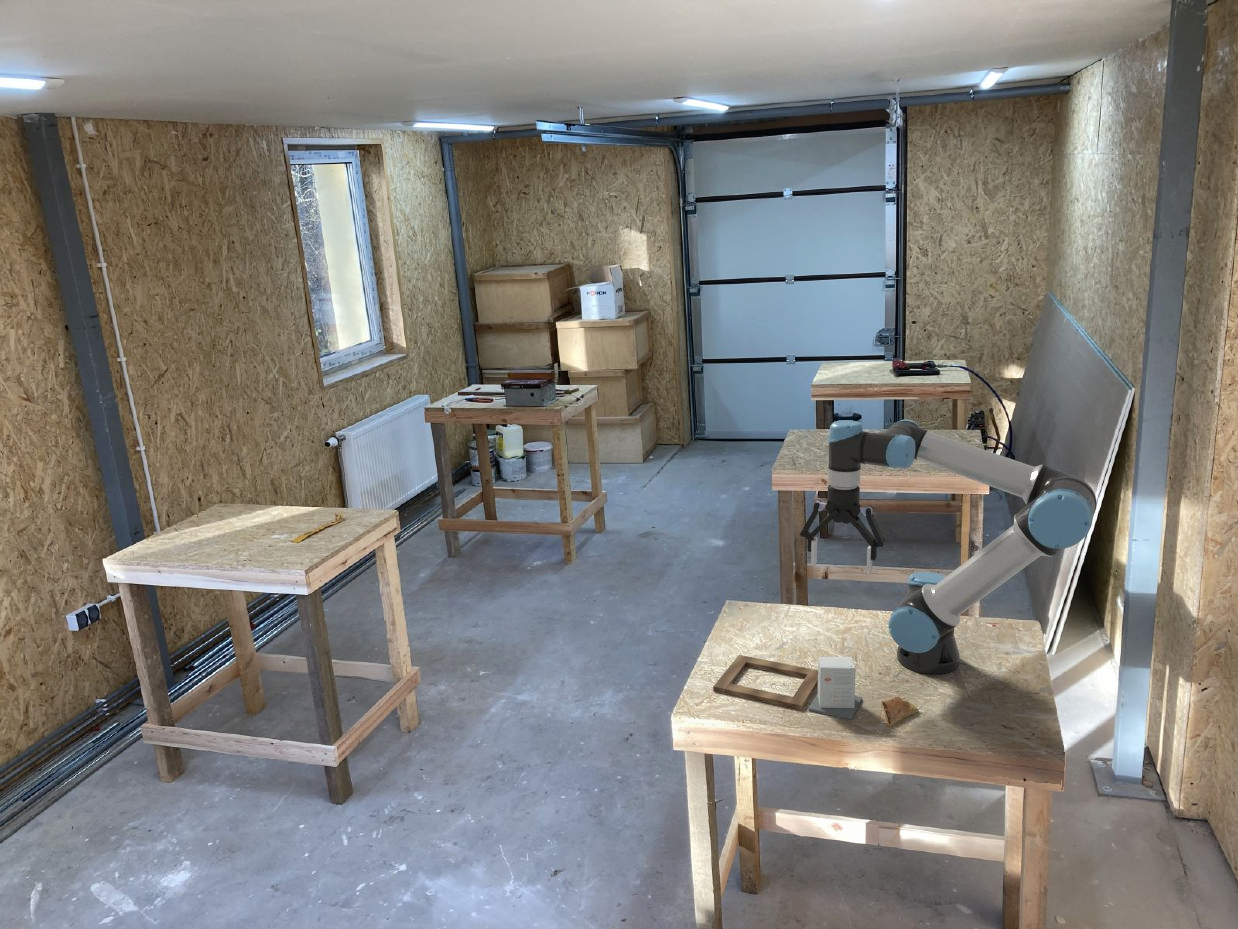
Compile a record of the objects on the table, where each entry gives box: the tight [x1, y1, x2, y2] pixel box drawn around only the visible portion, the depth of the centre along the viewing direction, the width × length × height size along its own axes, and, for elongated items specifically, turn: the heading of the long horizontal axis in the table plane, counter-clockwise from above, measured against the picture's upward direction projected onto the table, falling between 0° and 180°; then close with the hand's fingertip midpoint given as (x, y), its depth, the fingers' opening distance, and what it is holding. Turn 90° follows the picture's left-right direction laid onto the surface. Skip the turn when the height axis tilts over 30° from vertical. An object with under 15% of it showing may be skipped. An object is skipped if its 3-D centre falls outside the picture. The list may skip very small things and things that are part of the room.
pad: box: [808, 693, 863, 721], centre depth 221 cm, size 10×10×1 cm
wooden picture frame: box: [712, 654, 818, 711], centre depth 232 cm, size 22×18×1 cm
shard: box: [880, 696, 919, 728], centre depth 217 cm, size 11×8×2 cm
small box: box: [817, 656, 856, 708], centre depth 219 cm, size 8×6×10 cm
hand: (841, 568), depth 232 cm, fingers open, 13 cm apart
